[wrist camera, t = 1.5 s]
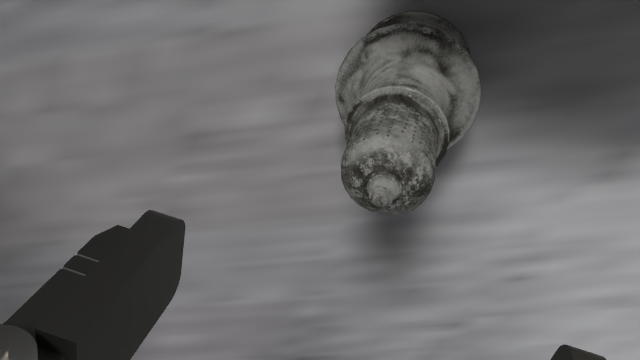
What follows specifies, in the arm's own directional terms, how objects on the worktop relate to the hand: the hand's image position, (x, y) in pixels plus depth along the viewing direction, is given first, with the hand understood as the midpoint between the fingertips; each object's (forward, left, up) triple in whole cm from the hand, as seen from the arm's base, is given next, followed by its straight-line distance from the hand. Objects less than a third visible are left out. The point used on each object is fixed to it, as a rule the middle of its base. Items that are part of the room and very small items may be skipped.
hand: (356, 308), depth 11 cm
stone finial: (0, 0, -16) cm, 16 cm away
